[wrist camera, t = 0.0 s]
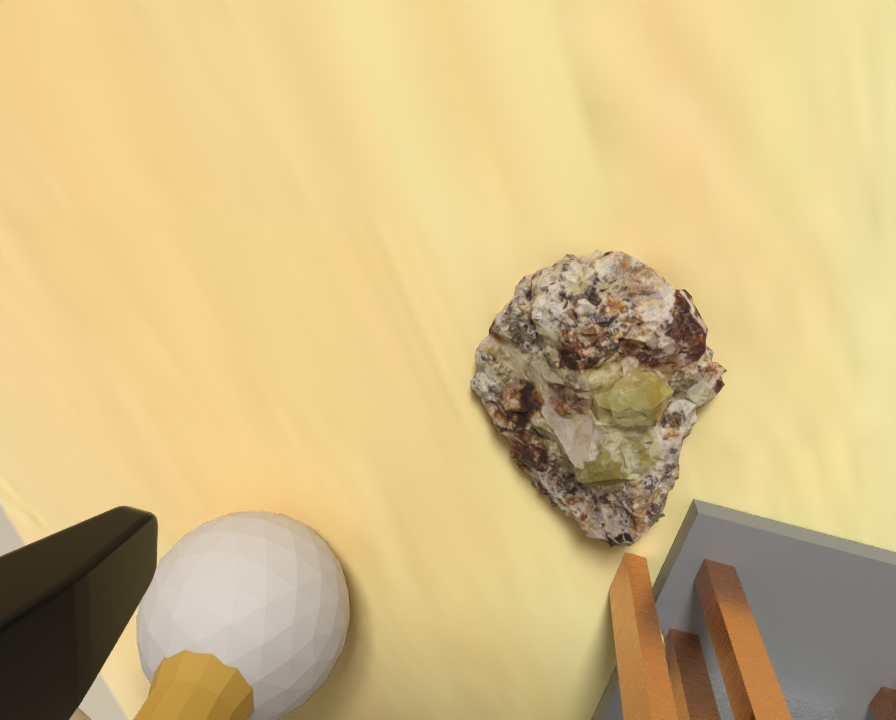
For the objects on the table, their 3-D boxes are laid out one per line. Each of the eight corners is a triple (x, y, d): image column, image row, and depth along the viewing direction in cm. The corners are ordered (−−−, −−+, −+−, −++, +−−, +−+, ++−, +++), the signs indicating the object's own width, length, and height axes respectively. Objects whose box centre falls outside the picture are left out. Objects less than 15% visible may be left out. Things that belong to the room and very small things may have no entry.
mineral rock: (425, 283, 19) (713, 266, 16) (478, 241, 23) (724, 218, 19) (487, 561, 24) (726, 596, 20) (524, 488, 27) (733, 508, 24)
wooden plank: (635, 598, 25) (675, 845, 17) (608, 591, 25) (636, 834, 17) (652, 560, 24) (704, 800, 16) (625, 552, 25) (662, 788, 16)
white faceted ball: (381, 623, 28) (272, 972, 17) (176, 616, 30) (-43, 929, 19) (354, 476, 25) (202, 781, 14) (129, 477, 27) (-162, 751, 16)
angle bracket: (946, 647, 23) (1102, 870, 17) (694, 579, 24) (748, 770, 17) (961, 627, 23) (1127, 848, 16) (704, 558, 23) (764, 746, 17)
